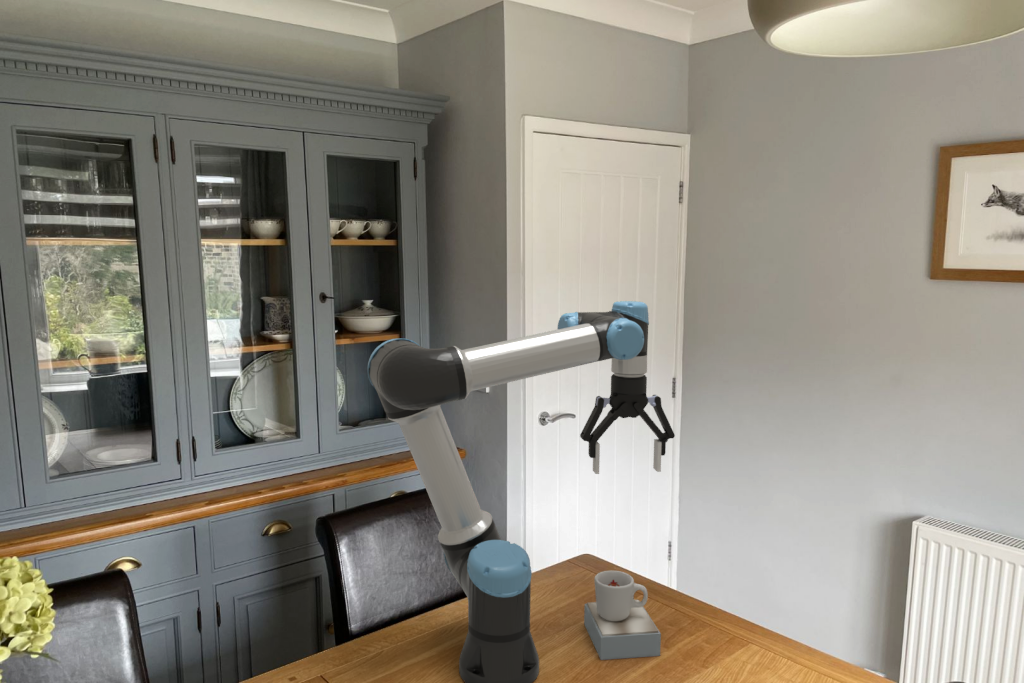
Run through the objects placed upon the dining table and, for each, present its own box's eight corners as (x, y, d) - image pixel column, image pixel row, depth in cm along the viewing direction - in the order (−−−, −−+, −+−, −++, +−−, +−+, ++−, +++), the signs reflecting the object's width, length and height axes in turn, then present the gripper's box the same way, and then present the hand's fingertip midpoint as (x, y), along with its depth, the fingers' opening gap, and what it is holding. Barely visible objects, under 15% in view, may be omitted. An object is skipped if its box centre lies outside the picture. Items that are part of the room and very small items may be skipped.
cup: (645, 608, 155) (646, 571, 154) (648, 627, 147) (649, 588, 146) (593, 605, 156) (594, 569, 155) (593, 624, 148) (594, 586, 147)
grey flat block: (600, 659, 145) (601, 635, 144) (584, 624, 158) (584, 601, 158) (660, 655, 146) (660, 631, 145) (638, 620, 160) (639, 598, 159)
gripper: (679, 370, 163) (676, 464, 166) (567, 372, 160) (566, 467, 163) (691, 376, 156) (688, 474, 159) (575, 378, 153) (573, 478, 155)
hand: (626, 471), depth 161 cm, fingers open, 13 cm apart
